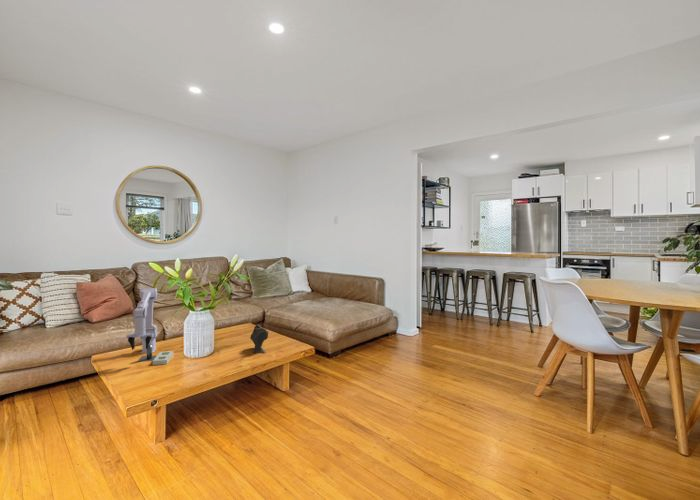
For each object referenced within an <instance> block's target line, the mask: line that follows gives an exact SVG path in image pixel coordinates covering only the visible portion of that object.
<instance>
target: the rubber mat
mask: <svg viewBox="0 0 700 500" xmlns="http://www.w3.org/2000/svg"><path fill="white" fill-rule="evenodd" d="M157 355H158V354H156V355H152V359H150V360H147V355H142V356H141V357H140V358H138V360H136V363H143V362H144V363H145V362H153V360H154V359H155V357H156V356H157Z"/></svg>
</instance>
